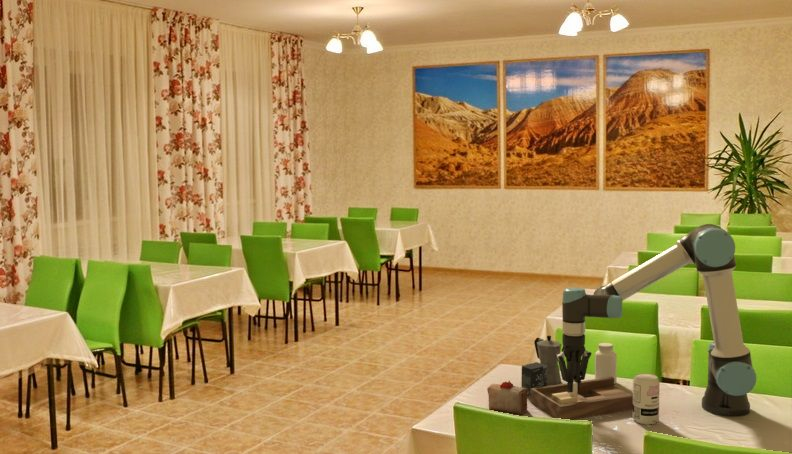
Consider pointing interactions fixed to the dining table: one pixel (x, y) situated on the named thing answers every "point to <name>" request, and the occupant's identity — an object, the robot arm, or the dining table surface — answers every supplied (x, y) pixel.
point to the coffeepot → (549, 358)
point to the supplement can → (646, 398)
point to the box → (534, 376)
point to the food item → (507, 398)
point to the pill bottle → (605, 362)
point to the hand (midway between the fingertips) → (573, 400)
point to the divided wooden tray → (584, 399)
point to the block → (564, 398)
